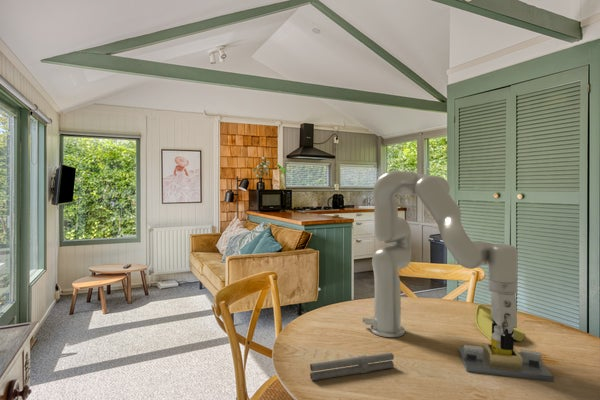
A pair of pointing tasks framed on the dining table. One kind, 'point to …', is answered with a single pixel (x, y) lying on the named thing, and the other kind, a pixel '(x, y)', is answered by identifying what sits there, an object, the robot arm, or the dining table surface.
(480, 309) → the plastic component
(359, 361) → the metal rod assembly
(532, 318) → the dining table surface
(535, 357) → the stand
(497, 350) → the supplement bottle
